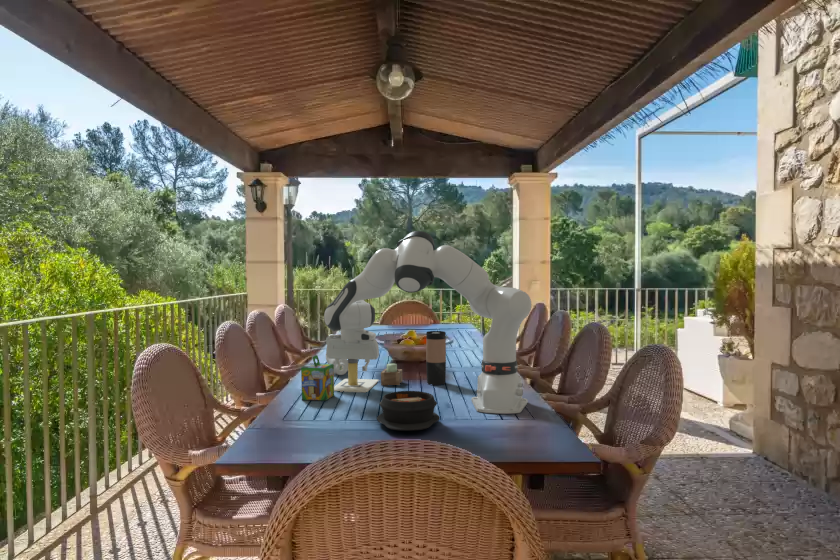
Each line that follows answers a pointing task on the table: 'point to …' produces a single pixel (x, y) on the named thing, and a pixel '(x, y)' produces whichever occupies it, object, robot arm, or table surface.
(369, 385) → the drawing pad
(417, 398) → the casserole
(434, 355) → the travel mug
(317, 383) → the chalk box
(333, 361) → the bottle
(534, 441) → the table surface
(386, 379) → the button housing
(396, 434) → the table surface
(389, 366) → the button
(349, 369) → the spice shaker
